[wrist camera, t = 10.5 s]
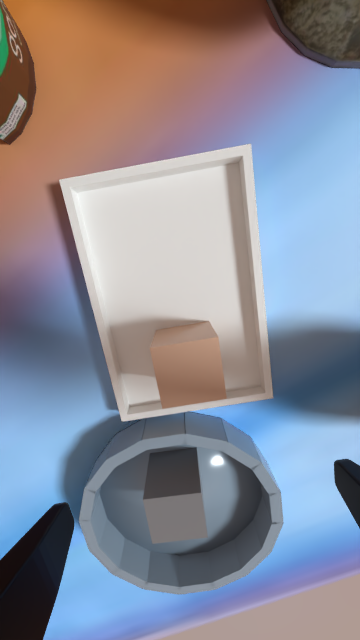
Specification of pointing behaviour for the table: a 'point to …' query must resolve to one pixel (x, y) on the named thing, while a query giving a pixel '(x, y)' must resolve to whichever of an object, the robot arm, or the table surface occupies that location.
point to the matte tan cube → (188, 365)
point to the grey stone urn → (322, 29)
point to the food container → (14, 78)
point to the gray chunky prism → (174, 496)
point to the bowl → (219, 501)
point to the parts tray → (174, 269)
